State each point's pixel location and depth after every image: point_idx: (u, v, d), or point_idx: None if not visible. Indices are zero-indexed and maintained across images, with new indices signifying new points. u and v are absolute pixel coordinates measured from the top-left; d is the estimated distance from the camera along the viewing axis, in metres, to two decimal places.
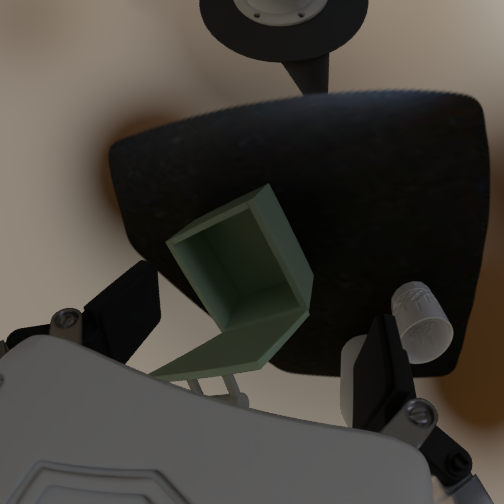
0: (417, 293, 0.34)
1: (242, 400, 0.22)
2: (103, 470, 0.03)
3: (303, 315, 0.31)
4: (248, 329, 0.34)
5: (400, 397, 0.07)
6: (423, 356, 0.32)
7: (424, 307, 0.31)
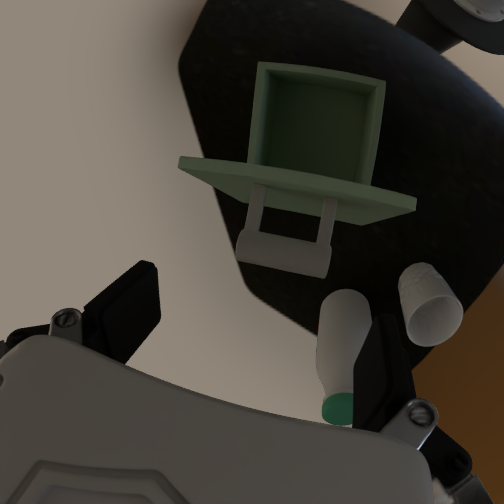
0: (438, 275, 0.32)
1: None
2: (103, 470, 0.03)
3: None
4: None
5: (400, 397, 0.07)
6: (419, 338, 0.31)
7: (448, 288, 0.29)
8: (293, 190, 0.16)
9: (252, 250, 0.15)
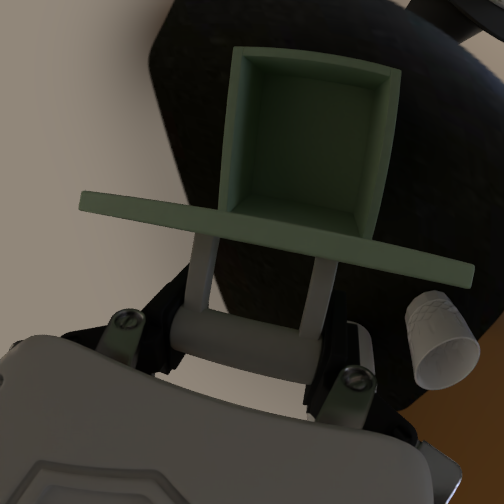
0: (453, 307, 0.26)
1: None
2: (103, 470, 0.03)
3: None
4: None
5: (338, 362, 0.08)
6: (427, 381, 0.25)
7: (464, 325, 0.23)
8: None
9: (194, 344, 0.09)
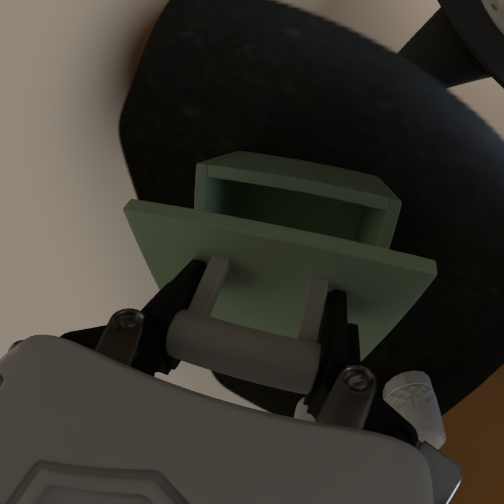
0: (428, 392, 0.26)
1: None
2: (103, 470, 0.03)
3: None
4: None
5: (338, 363, 0.08)
6: None
7: (434, 415, 0.22)
8: (266, 270, 0.11)
9: (194, 333, 0.09)
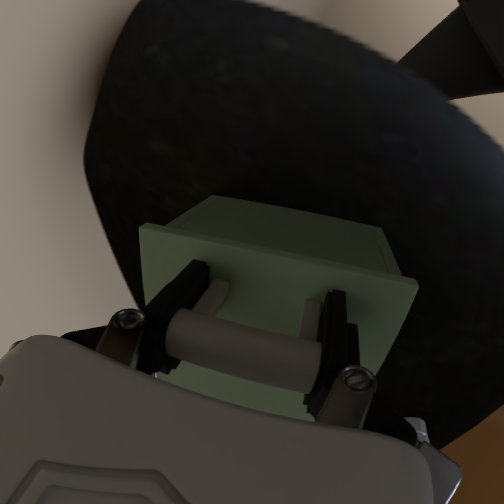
0: None
1: None
2: (103, 470, 0.03)
3: None
4: None
5: (338, 363, 0.08)
6: None
7: None
8: (263, 296, 0.12)
9: (199, 322, 0.09)
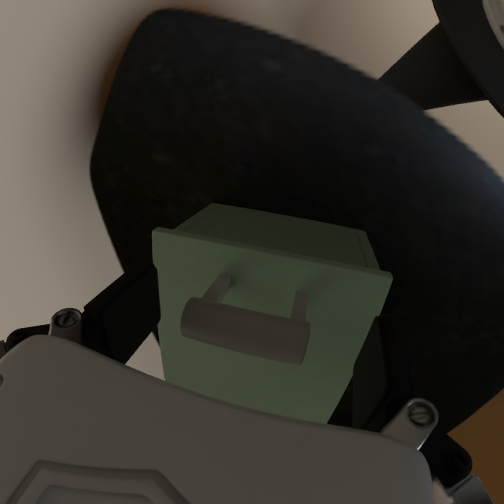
0: None
1: None
2: (103, 470, 0.03)
3: None
4: None
5: (400, 397, 0.07)
6: None
7: None
8: (260, 288, 0.15)
9: (208, 306, 0.11)
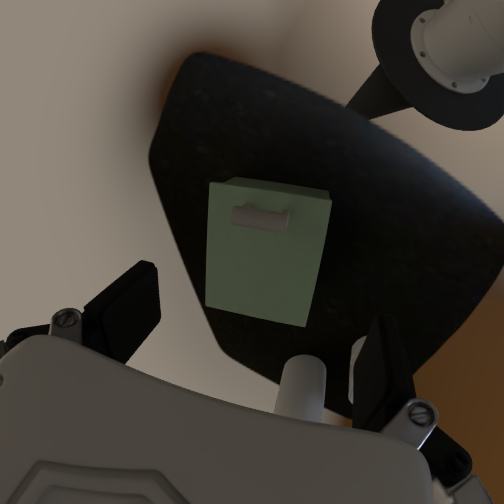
0: None
1: (287, 222, 0.26)
2: (103, 470, 0.03)
3: None
4: None
5: (400, 397, 0.07)
6: None
7: None
8: (265, 209, 0.29)
9: (243, 207, 0.26)
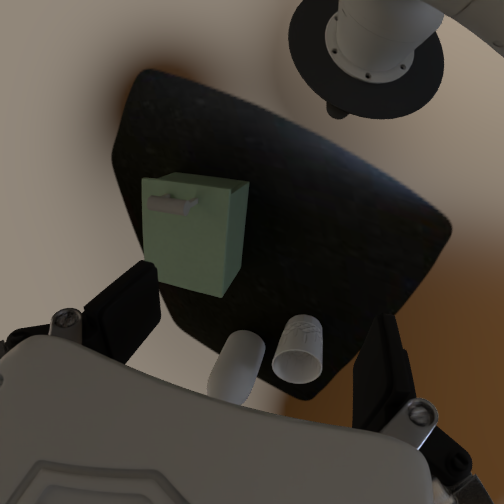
0: (310, 328, 0.45)
1: (188, 207, 0.32)
2: (103, 470, 0.03)
3: None
4: None
5: (400, 397, 0.07)
6: (289, 376, 0.44)
7: (309, 342, 0.42)
8: (180, 198, 0.36)
9: (156, 196, 0.32)
